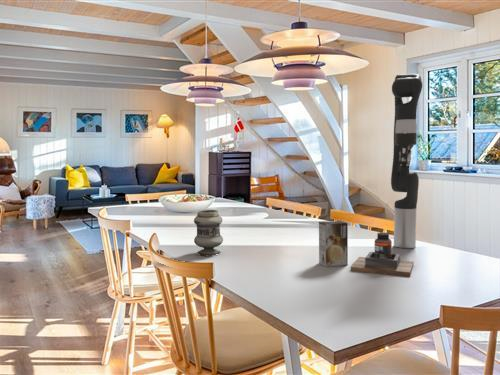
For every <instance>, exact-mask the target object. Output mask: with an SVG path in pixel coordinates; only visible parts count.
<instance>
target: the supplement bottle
mask: <svg viewBox="0 0 500 375" xmlns="http://www.w3.org/2000/svg"><path fill="white" fill-rule="evenodd" d="M376 235H377V236H376V238H375V239H374V252H375V258H381V259H391V256H392V254H393V253H392V249H393V248H392V244H393V242H392V240H391V238H390V234H389V232H377V234H376Z"/></svg>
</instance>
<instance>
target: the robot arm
mask: <svg viewBox="0 0 500 375" xmlns="http://www.w3.org/2000/svg"><path fill="white" fill-rule="evenodd" d="M422 90H423V82H422V77H421V75H420V74H417V73H404V74H396V75H395V77H394V80H393V82H392V84H391V93H392V95H393V96H394V122H393V123H394V124H393V155H392V156H393V157H392V166H391V176H390V185H391V189H392V191H393V192H396V193H406V195H405V197H403V198H401V199H397V200H395V202H394V206H393V207H394V215H393V218H394V220H393V221H394V222H393V247H394V248H401V249H414V248H416V245H417V244H416V240H417V209H418V208H417V206H418V205H417V204H418V197H419V196H418V195H419V185H420V184H419V183H420V182H419V174H418V173H417V172H415V171H410V166H411V165H410V164H411V160H412V148H413V147H414V146H416V145H417V141H418V140H417V137H418V136H417V134H418V132H417V130H418V126H417V125H418V124H417V109H418V103H419V98H420V96H421V93H422ZM403 98H411V99H410V100H409V101H408V102H405V103H404V101H403Z"/></svg>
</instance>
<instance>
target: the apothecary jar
mask: <svg viewBox="0 0 500 375" xmlns="http://www.w3.org/2000/svg"><path fill="white" fill-rule="evenodd" d="M193 222H194V224H195V225H196V235H195V237H194V240H193V241H194V244H195V245H196V246H198V247H199V248H202V249H200V250H198V251H197V252H196V254H197V253H198V254H202V255H201V256H203V255H216V254H219V253H220V254H221V251H220V250H218V249H216V247H219V246H221V245H222V244H223V242H224V238H223V236H222V235H221V231H220V230H221V229H220V228H221V226H220V225H221V224H222V223H223V218H222V217H221V215H219V211H218V209H202V210H198V211H197V214H196V216H195V217H194V219H193ZM198 254H197V255H198ZM220 254H219V255H220ZM216 256H217V255H216Z"/></svg>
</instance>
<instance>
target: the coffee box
mask: <svg viewBox="0 0 500 375" xmlns="http://www.w3.org/2000/svg"><path fill="white" fill-rule="evenodd" d="M348 225H349V224H348V222H346V221H342V220H328V221H327V220H326V221H325V220H324V221H318V263H319V264H320V265H322V266H323V267H325V268H328V267H330V268H331V267H339V266H348V265H349V264H348V263H349V262H348V261H349V259H348V256H349V255H348V253H349V252H348V250H349V248H348V245H349V244H348V241H349V239H348V234H349V232H348V230H349V229H348Z"/></svg>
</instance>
